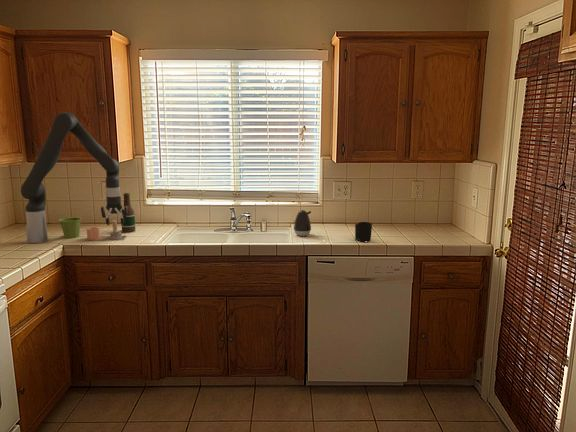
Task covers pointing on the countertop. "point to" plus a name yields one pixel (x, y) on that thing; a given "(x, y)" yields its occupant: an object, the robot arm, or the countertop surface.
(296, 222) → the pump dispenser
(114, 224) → the birch dowel
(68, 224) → the plant pot
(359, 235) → the pen holder
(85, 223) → the countertop surface
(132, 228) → the beer bottle
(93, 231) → the terracotta cup
